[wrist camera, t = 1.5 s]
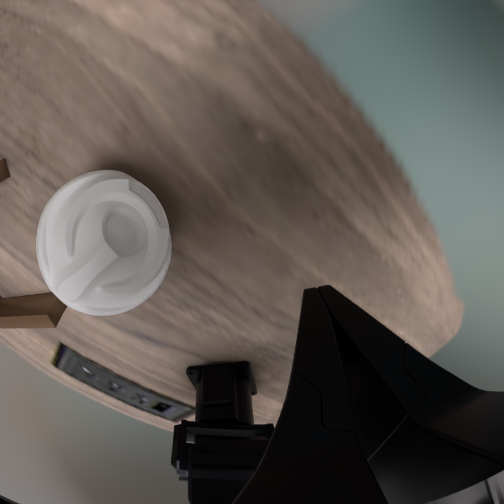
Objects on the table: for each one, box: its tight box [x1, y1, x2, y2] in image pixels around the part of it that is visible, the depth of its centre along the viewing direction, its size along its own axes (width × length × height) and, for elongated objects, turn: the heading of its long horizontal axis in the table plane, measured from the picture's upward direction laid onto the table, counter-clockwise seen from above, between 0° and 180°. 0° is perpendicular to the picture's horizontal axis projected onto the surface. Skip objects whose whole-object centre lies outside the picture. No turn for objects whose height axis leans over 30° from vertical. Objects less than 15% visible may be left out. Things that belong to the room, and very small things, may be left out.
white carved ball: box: [36, 170, 172, 316], centre depth 14 cm, size 8×8×8 cm
